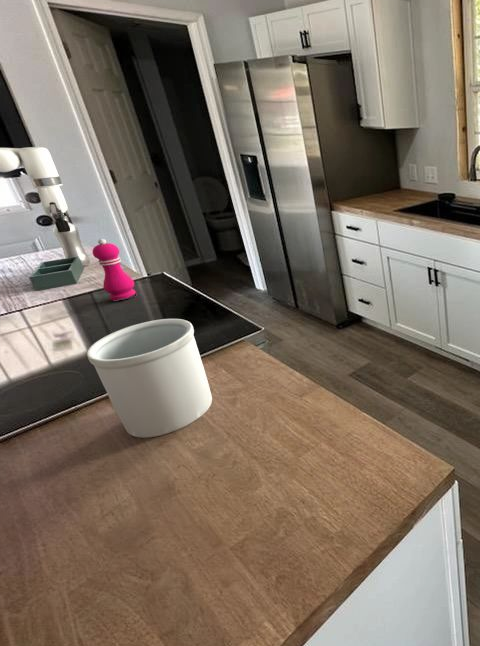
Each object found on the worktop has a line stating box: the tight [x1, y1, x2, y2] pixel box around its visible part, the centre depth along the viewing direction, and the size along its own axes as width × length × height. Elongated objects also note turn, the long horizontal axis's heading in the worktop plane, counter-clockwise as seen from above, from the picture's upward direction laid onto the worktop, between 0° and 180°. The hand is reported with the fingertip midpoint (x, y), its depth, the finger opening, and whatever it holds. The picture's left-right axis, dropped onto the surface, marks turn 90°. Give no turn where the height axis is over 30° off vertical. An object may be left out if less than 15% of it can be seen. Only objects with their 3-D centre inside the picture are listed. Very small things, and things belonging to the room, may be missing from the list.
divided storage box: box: [28, 256, 85, 292], centre depth 149 cm, size 10×19×5 cm, turn 39°
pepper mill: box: [92, 238, 137, 301], centre depth 130 cm, size 7×7×20 cm
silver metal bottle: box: [53, 216, 91, 267], centre depth 158 cm, size 6×7×20 cm
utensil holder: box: [86, 318, 213, 439], centre depth 79 cm, size 15×15×18 cm
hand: (66, 229), depth 157 cm, fingers closed on silver metal bottle, 6 cm apart
